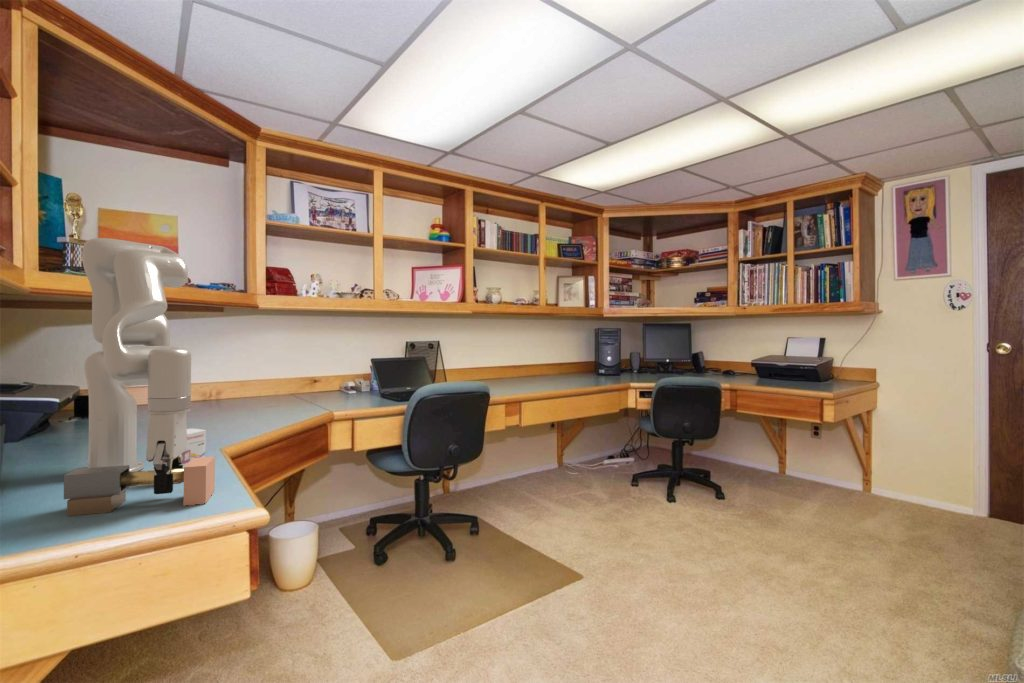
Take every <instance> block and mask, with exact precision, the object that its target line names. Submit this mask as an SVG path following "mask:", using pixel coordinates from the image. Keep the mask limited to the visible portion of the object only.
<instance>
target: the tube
mask: <svg viewBox="0 0 1024 683" xmlns="http://www.w3.org/2000/svg"><path fill="white" fill-rule="evenodd" d="M171 473H173V483H180V484H182V483H184V468H178V469H172V470H171ZM181 482H182V483H181ZM139 486H140V487H142V486H154V469H152V470H139V471H136V472H122V473H121V487H129V488H131V487H139Z"/></svg>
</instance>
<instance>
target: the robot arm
mask: <svg viewBox="0 0 1024 683" xmlns="http://www.w3.org/2000/svg"><path fill="white" fill-rule="evenodd" d="M81 261H82V265H83V266H82V267H83V269H84V273H85V274H86V278H87V279H88V282H89V286H90V288H91V297H92V298H91V323H92V324H91V327H92V328H91V329H92V330H91V331H92V336H93V338H94V340H95V341H96V342H97V343H100V344H101V345H102V350H99V351H97V352H93V353H91V354H90V355H88V356H87V357H86V358H85V361H84V365H83V367H84V376H85V380H86V386H87V391H88V392H87V394H88V454H87V455H88V456H87V457H86V459H87V461H88V466H87V467H86V468H95V467H110V466H125V465H129V472H136V471H142V470H143V469H144V468H145V466H144V465H145V464H144V462H142V461H139V460H137V456H138V455H137V448H138V447H137V446H138V445H137V441H138V404H137V401H136V399H135V397H134V396H133V395H132V394H130V392H128V391H127V390H126V387H134V386H135V387H136V386H147V414H148V415H150V416H149V421H148V428H147V438H146V454H145V455H146V457H145V458H146V461H147V462H148V463H151V462H152V464H153V470H154V485H153V494H154V495H163V494H165V495H166V494H172V492H174V485H179V484H182V483H183V482H181V483H173V473H171V470H172V469H178V468H183V465H182V464H183V457H182V455H183V454H182V453H183V452H184V451H185V449H186V444H187V429H188V428H187V426H188V425H187V423H188V422H187V412H190V411H191V407H192V403H191V402H192V396H191V394H192V393H191V392H192V390H191V389H192V387H191V386H192V354H191V352H190V350H189V349H187V348H183V347H177V346H172V345H171V330H170V328H171V327H170V323H169V319H168V318H167V316H166V314H164V313H166V311H167V310H168V303H167V302H168V301H167V297H166V294H165V289H164V288H175V289H176V288H177V289H178V288H183V287H184V286H185V285H186V283H187V282H188V278H189V269H188V266H187V264H186V261H185V260H184V259H183V257H182V256H181V255H180V254H179V253H177V252H175V251H173V250H172V249H170V248H168V247H166V246H162V245H157V244H151V243H150V244H149V243H142V242H137V241H136V242H135V241H131V240H124V239H118V238H117V239H116V238H107V237H96V238H95V237H94V238H91V239H88V240H86V242H84V244H83V246H82V251H81ZM163 457H166V459H163ZM163 463H167V466H166V464H163Z"/></svg>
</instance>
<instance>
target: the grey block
mask: <svg viewBox="0 0 1024 683" xmlns="http://www.w3.org/2000/svg"><path fill="white" fill-rule="evenodd" d="M122 472H129V465H125V466H110V467H95V468H87V467H83V468H82V467H81V468H76V469H73V470H71V471H70V472H67V473H66V474H64V475H63V500H67V501H66V517H75V516H83V515H84V516H85V515H95V514H107V513H106V512H108V513H112V512H113V511H115V510H116V509H118V508H119V506H121V505H122V504H124V502H126V501H125V500H126V499H127V498H126V490H128V489H129V488H130V487H121V473H122ZM121 503H122V504H121ZM120 504H121V505H120ZM115 508H116V509H115Z"/></svg>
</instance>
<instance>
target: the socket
mask: <svg viewBox="0 0 1024 683" xmlns="http://www.w3.org/2000/svg"><path fill="white" fill-rule="evenodd" d="M215 473H216V456H205V457H201V458H194V459H193V460H192V461H191V462H189V463H188V464H187V465H186V466H185V467H184V482H183V507H186V506H185V505H189V506H196V505H195V504H200V505H205V504H204V503H206V502H207V503H208V502H209V500H210V499H211V498H212V496H213V495H214V494H215V492H214V491H215V490H216V489H215V488H216V483H215V482H216V474H215ZM213 493H214V494H213ZM212 494H213V495H212ZM211 495H212V496H211ZM209 498H210V499H209ZM207 503H206V504H207Z"/></svg>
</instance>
